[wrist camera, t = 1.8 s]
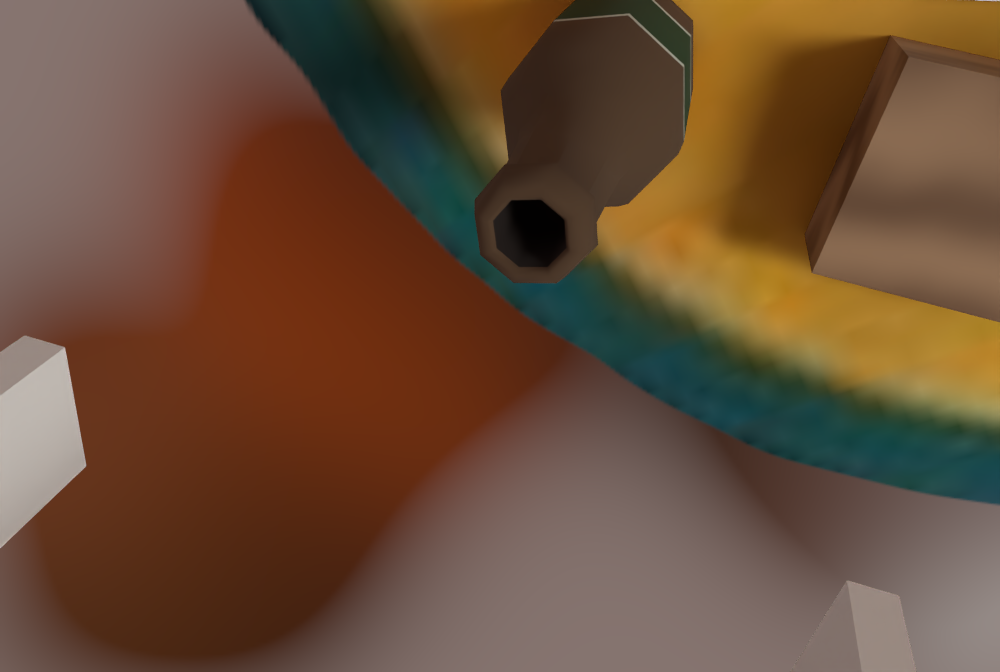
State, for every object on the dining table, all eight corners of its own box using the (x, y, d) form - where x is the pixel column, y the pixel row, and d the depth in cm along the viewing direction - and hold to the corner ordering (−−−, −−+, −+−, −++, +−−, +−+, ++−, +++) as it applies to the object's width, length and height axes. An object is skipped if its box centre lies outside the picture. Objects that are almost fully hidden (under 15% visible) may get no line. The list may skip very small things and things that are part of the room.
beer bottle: (664, -57, 39) (592, 41, 19) (723, 87, 42) (714, 305, 22) (528, 19, 42) (347, 170, 22) (591, 148, 45) (480, 383, 25)
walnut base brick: (889, 34, 39) (908, 56, 34) (1124, 87, 37) (1173, 117, 33) (804, 233, 45) (811, 272, 41) (1003, 285, 43) (1032, 330, 39)
